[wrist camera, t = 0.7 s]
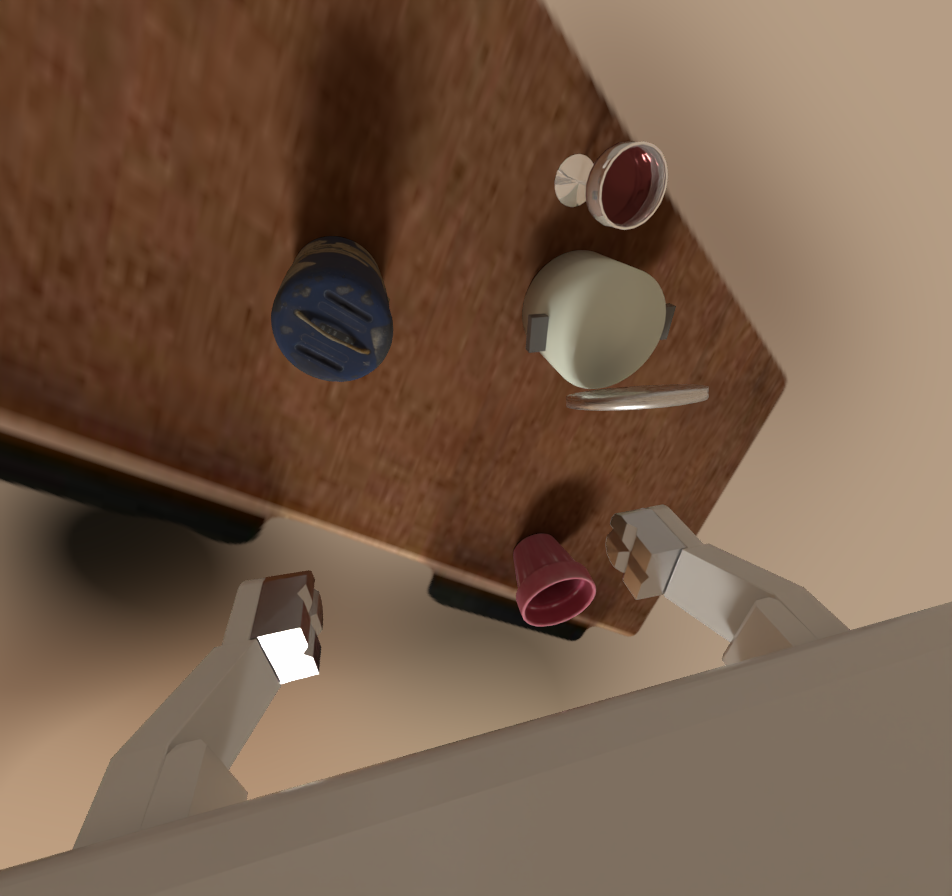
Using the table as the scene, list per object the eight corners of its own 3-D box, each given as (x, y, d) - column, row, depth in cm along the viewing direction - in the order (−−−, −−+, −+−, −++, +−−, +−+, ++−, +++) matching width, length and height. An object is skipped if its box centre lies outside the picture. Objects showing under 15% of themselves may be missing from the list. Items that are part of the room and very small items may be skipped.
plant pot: (552, 571, 88) (578, 625, 78) (492, 573, 83) (511, 630, 73) (577, 523, 81) (609, 576, 71) (513, 522, 76) (538, 578, 66)
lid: (608, 403, 35) (609, 428, 36) (744, 385, 38) (743, 409, 38) (546, 396, 49) (547, 414, 49) (650, 383, 51) (650, 400, 52)
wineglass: (535, 187, 45) (583, 196, 36) (577, 127, 43) (640, 119, 33) (574, 228, 48) (627, 246, 39) (614, 175, 46) (682, 179, 37)
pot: (510, 253, 48) (540, 272, 40) (644, 247, 52) (697, 263, 44) (505, 363, 56) (530, 396, 49) (621, 351, 60) (662, 380, 52)
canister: (335, 212, 42) (326, 240, 28) (400, 284, 47) (420, 339, 33) (273, 277, 44) (236, 334, 30) (343, 339, 49) (339, 412, 35)
